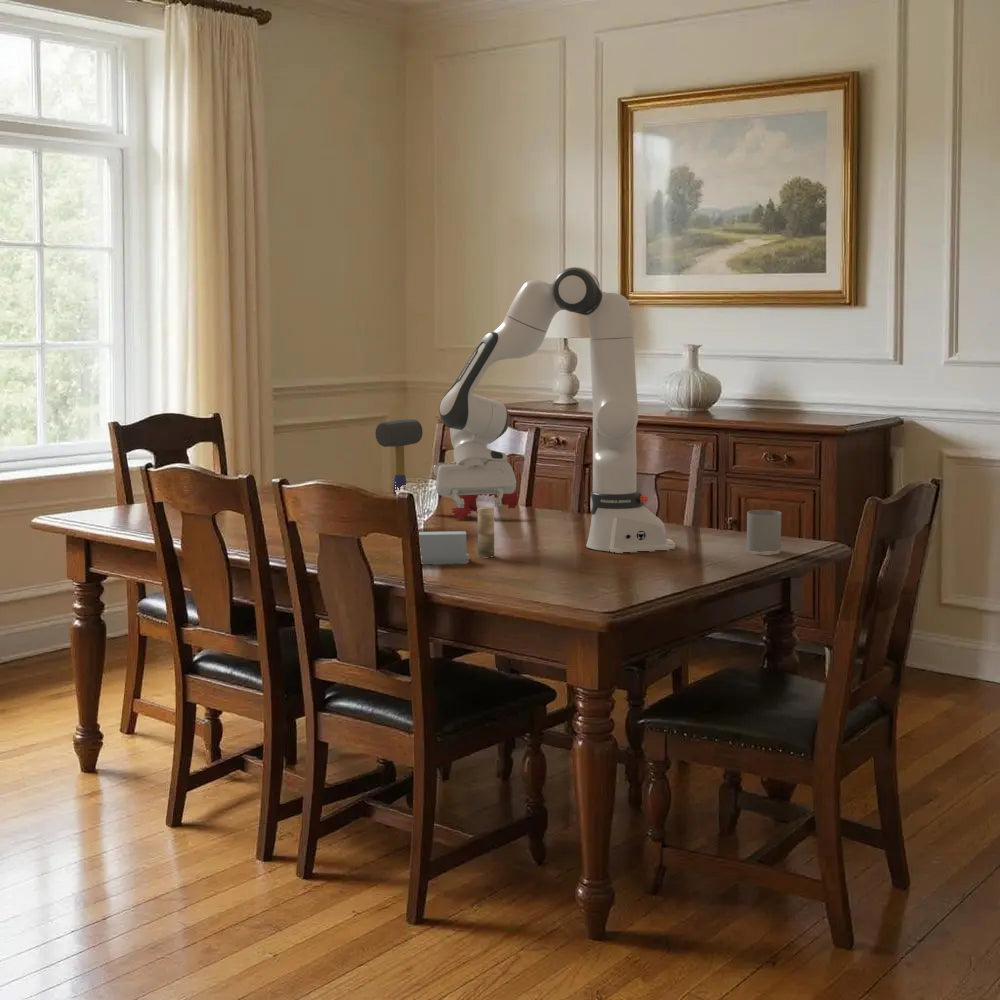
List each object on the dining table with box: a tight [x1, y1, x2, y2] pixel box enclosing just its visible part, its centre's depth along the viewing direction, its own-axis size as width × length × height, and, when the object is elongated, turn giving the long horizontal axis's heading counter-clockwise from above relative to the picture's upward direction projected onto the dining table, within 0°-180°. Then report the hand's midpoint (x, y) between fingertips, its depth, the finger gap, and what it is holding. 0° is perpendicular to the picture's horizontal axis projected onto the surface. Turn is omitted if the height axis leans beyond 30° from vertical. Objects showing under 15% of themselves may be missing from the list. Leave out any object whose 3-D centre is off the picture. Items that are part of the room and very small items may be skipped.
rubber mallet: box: [374, 418, 423, 495], centre depth 384 cm, size 12×8×30 cm, turn 136°
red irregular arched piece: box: [451, 489, 518, 520], centre depth 402 cm, size 28×9×15 cm
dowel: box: [477, 506, 495, 558], centre depth 342 cm, size 4×4×12 cm
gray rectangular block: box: [418, 530, 470, 566], centre depth 336 cm, size 15×7×7 cm, turn 93°
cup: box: [746, 509, 782, 552], centre depth 345 cm, size 8×8×10 cm
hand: (479, 505), depth 347 cm, fingers open, 8 cm apart
